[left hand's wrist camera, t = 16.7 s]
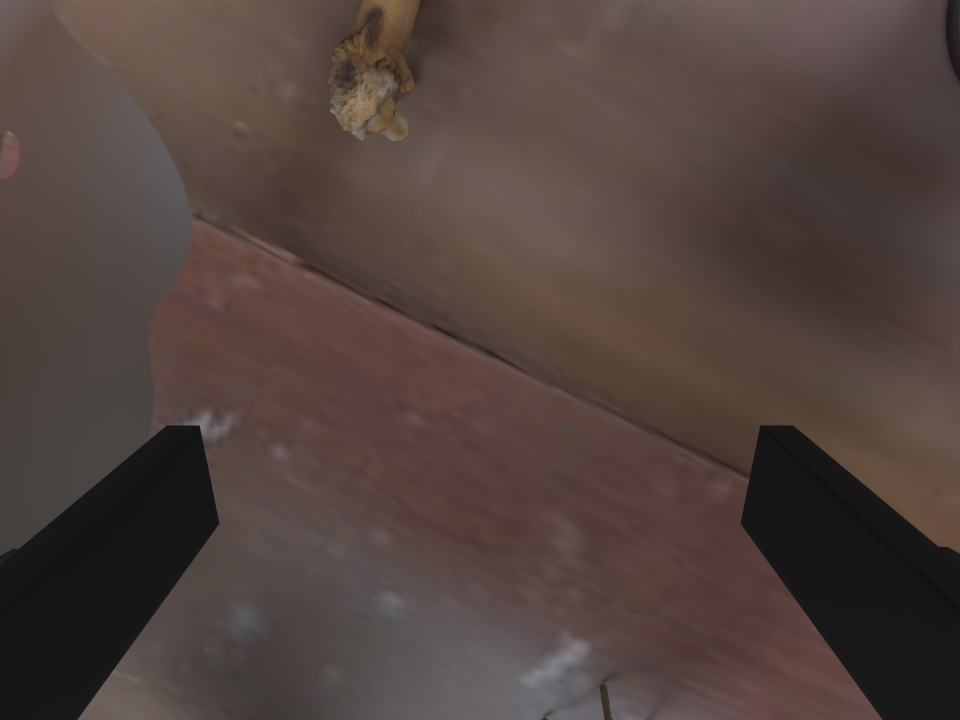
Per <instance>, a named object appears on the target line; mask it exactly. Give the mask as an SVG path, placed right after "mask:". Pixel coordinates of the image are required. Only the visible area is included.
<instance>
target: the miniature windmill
mask: <svg viewBox="0 0 960 720" xmlns="http://www.w3.org/2000/svg"><path fill="white" fill-rule="evenodd" d="M600 692H601V699H602V705H603V712H604V719H605V720H612V719H611V712H610V706H609V699H608V693H607V687H606V685H605V684H602V685H600ZM542 720H547V718H544V719H542Z"/></svg>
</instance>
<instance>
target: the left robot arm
mask: <svg viewBox="0 0 960 720" xmlns="http://www.w3.org/2000/svg"><path fill="white" fill-rule="evenodd" d="M946 33H947V45H948V51H949V55H950V59H951V63H952V65H953V68H954V71H955V73H956V75H957V77H958V79H959V81H960V0H949V2H948V9H947V21H946ZM218 525H219V520H218V515H217V510H216V505H215V500H214V495H213V490H212V485H211V480H210V475H209V470H208V465H207V460H206V455H205V450H204V445H203V440H202V435H201V430H200V426H166V427H164V428H163V429H162V430H161V431H160V432H158V433H157V434H156V435H155V436H154V437H152V438H151V439H150V440H149V441H148V442H146V443H145V444H144V445H143V446H142V447H141V448H139V449H138V450H137V451H136V452H135V453H133V454H132V455H131V456H130V457H129V458H127V459H126V460H125V461H124V462H123V463H121V464H120V465H119V466H118V467H117V468H115V469H114V470H113V471H112V472H111V473H109V474H108V475H107V476H106V477H105V478H103V479H102V480H101V481H100V482H99V483H97V484H96V485H95V486H94V487H93V488H92V489H90V490H89V491H88V492H87V493H85V494H84V495H83V496H82V497H81V498H79V499H78V500H77V501H76V502H75V503H73V504H72V505H71V506H70V507H69V508H68V509H66V510H65V511H64V512H63V513H62V514H60V515H59V516H58V517H57V518H56V519H54V520H53V521H52V522H51V523H50V524H48V525H47V526H46V527H45V528H44V529H42V530H41V531H40V532H39V533H38V534H36V535H35V536H34V537H33V538H32V539H30V540H29V541H28V542H27V543H26V544H24V545H23V546H22V547H21V548H20V549H12V550H10V551H9V552H7V553H5V554H3V555H1V556H0V720H77V719H78V718H79V717H80V715H81V714H82V713H83V711H84V710H85V708H86V707H87V706H88V704H89V703H90V702H91V700H92V699H93V697H94V696H95V695H96V693H97V692H98V691H99V689H100V688H101V686H102V685H103V684H104V682H105V681H106V679H107V678H108V677H109V675H110V674H111V673H112V671H113V670H114V668H115V667H116V666H117V664H118V663H119V662H120V660H121V659H122V657H123V656H124V655H125V653H126V652H127V650H128V649H129V648H130V646H131V645H132V644H133V642H134V641H135V639H136V638H137V637H138V635H139V634H140V633H141V631H142V630H143V628H144V627H145V626H146V624H147V623H148V621H149V620H150V619H151V617H152V616H153V615H154V613H155V612H156V610H157V609H158V608H159V606H160V605H161V604H162V602H163V601H164V599H165V598H166V597H167V595H168V594H169V592H170V591H171V590H172V588H173V587H174V586H175V584H176V583H177V581H178V580H179V579H180V577H181V576H182V575H183V573H184V572H185V570H186V569H187V568H188V566H189V565H190V564H191V562H192V561H193V559H194V558H195V557H196V555H197V554H198V552H199V551H200V550H201V548H202V547H203V546H204V544H205V543H206V541H207V540H208V539H209V537H210V536H211V535H212V533H213V532H214V530H215V529H216V528H217V526H218ZM741 525H742V526H743V528H744V529H745V530H746V532H747V533H748V535H749V536H750V537H751V539H752V540H753V541H754V543H755V544H756V546H757V547H758V548H759V550H760V551H761V552H762V554H763V555H764V557H765V558H766V559H767V561H768V562H769V564H770V565H771V566H772V568H773V569H774V570H775V572H776V573H777V575H778V576H779V577H780V579H781V580H782V581H783V583H784V584H785V586H786V587H787V588H788V590H789V591H790V592H791V594H792V595H793V597H794V598H795V599H796V601H797V602H798V604H799V605H800V606H801V608H802V609H803V610H804V612H805V613H806V615H807V616H808V617H809V619H810V620H811V621H812V623H813V624H814V626H815V627H816V628H817V630H818V631H819V633H820V634H821V635H822V637H823V638H824V639H825V641H826V642H827V644H828V645H829V646H830V648H831V649H832V650H833V652H834V653H835V655H836V656H837V657H838V659H839V660H840V662H841V663H842V664H843V666H844V667H845V668H846V670H847V671H848V673H849V674H850V675H851V677H852V678H853V679H854V681H855V682H856V684H857V685H858V686H859V688H860V689H861V691H862V692H863V693H864V695H865V696H866V697H867V699H868V700H869V702H870V703H871V704H872V706H873V707H874V708H875V710H876V711H877V713H878V714H879V715H880V717H881V718H882V720H960V554H959V553H957V552H956V551H954V550H952V549H950V548H948V547H938V546H937V545H936V544H934V543H933V542H932V541H931V540H930V539H928V538H927V537H926V536H925V535H924V534H922V533H921V532H920V531H919V530H918V529H916V528H915V527H914V526H913V525H912V524H910V523H909V522H908V521H907V520H906V519H904V518H903V517H902V516H901V515H900V514H898V513H897V512H896V511H895V510H894V509H892V508H891V507H890V506H889V505H888V504H887V503H885V502H884V501H883V500H882V499H881V498H879V497H878V496H877V495H876V494H875V493H873V492H872V491H871V490H870V489H869V488H867V487H866V486H865V485H864V484H863V483H861V482H860V481H859V480H858V479H857V478H855V477H854V476H853V475H852V474H851V473H849V472H848V471H847V470H846V469H845V468H843V467H842V466H841V465H840V464H839V463H837V462H836V461H835V460H834V459H833V458H831V457H830V456H829V455H828V454H827V453H825V452H824V451H823V450H822V449H821V448H819V447H818V446H817V445H816V444H815V443H814V442H812V441H811V440H810V439H809V438H808V437H806V436H805V435H804V434H803V433H802V432H800V431H799V430H798V429H797V428H796V427H794V426H760V430H759V435H758V440H757V445H756V450H755V455H754V460H753V465H752V470H751V475H750V480H749V485H748V490H747V495H746V500H745V505H744V510H743V515H742V520H741Z"/></svg>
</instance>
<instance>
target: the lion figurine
mask: <svg viewBox="0 0 960 720" xmlns="http://www.w3.org/2000/svg"><path fill="white" fill-rule="evenodd" d="M419 4H420V0H363V1H362V4H361V7H360V10H359V12H358V15H357V18H356V22H355V25H354V29H353V30H352V31H351V33H350V34H349V35H348V37H345V39H344V40H343V41H341V42H340V44H339V45H338V46H337V47H336V49H335V53H334V55H333V56H332V57H331V60H332V69H331V70H330V73H331V76H330V78H329V79H328V83H329V85H330V94H331V97H330V103H331V108H330V111H331V112H332V113H333V114H335V115H336V118H337V120H338V122H339V124H340V125H341V126H342V128H343V130H344V131H350V132H351V133H352V134H353V135H355V136H356V137H357V138H358V139H361V140H362V141H365V139H366V138H369V137H370V136H371V135H372V134H375V133H381V134H384V135H386V136H387V137H388V138H389V139H391V140H393V141H397V140H403V139H404V138H405V137H406V136H407V135H408V133H409V128H408V123H407V121H406V120H405V119H404V118H403V117H402V116H401V115H399V114H398V112H397V111H396V106H395V105H396V102H397V98H398V91H399V89H400V90H401V91H402V92H410V91H411V90H412V89H413V88H414V87H415V84H414V79H413V76H412V73H411V71H410V70H409V69H408V66H407V64H406V60H405V56H404V53H403V52H402V51H403V49H404V48H405V46H406V44H407V42H408V40H409V38H410V35H411V32H412V30H413V26H414V23H415V19H416V16H417V13H418V9H419Z"/></svg>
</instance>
